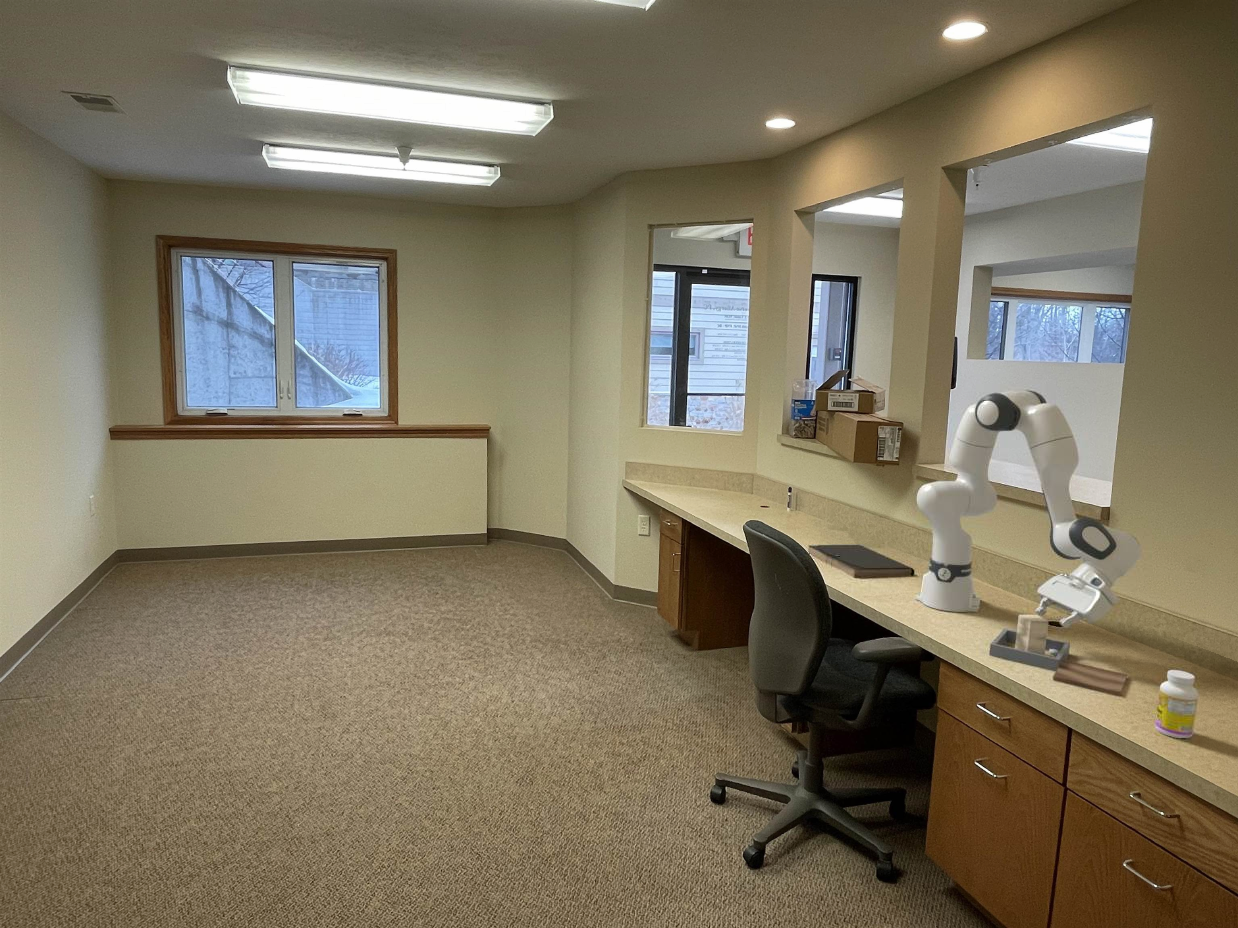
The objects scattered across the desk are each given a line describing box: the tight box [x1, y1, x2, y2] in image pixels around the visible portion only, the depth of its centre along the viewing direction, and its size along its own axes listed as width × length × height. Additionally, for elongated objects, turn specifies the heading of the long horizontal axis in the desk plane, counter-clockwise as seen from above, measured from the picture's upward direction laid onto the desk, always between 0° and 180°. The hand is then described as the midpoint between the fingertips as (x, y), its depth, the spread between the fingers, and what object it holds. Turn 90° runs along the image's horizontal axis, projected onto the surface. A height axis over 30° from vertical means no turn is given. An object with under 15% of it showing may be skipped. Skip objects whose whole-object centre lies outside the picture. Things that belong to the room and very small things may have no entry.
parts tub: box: [989, 628, 1071, 672], centre depth 214 cm, size 16×16×3 cm
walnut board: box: [1052, 659, 1128, 697], centre depth 199 cm, size 14×14×1 cm
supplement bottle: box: [1154, 669, 1199, 739], centre depth 171 cm, size 7×7×13 cm
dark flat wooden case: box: [808, 544, 915, 579], centre depth 301 cm, size 33×4×24 cm
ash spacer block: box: [1014, 614, 1049, 655], centre depth 214 cm, size 5×5×10 cm
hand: (1050, 619), depth 214 cm, fingers open, 8 cm apart
